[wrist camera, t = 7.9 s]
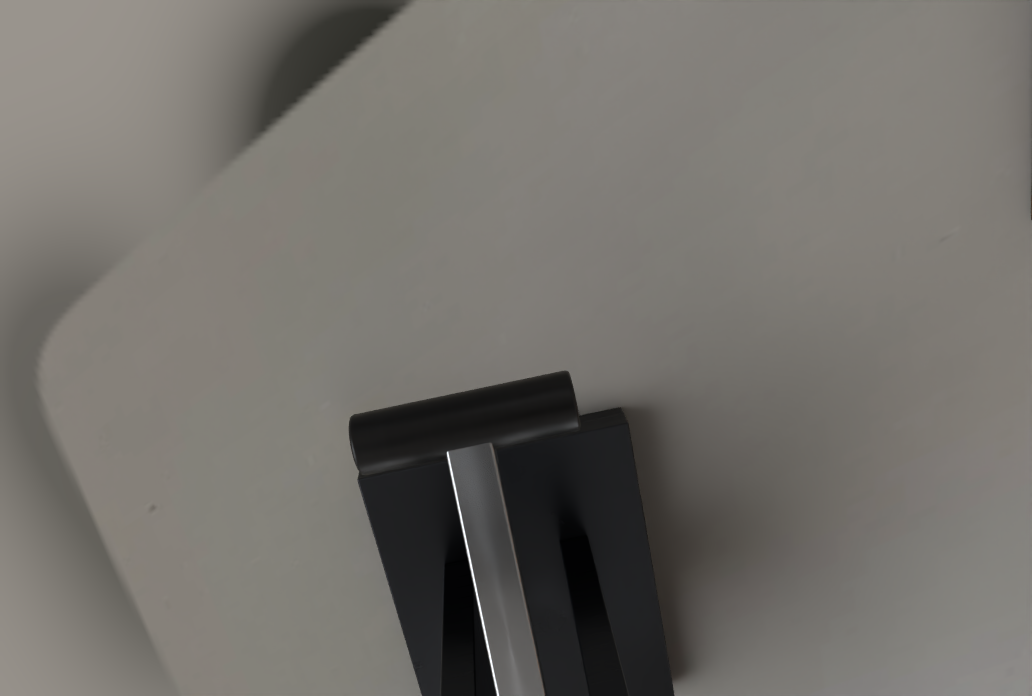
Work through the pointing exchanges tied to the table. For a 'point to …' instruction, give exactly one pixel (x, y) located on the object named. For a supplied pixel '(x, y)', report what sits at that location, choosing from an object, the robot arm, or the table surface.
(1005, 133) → the table surface
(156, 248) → the table surface
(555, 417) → the lever
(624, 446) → the bracket
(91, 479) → the table surface
